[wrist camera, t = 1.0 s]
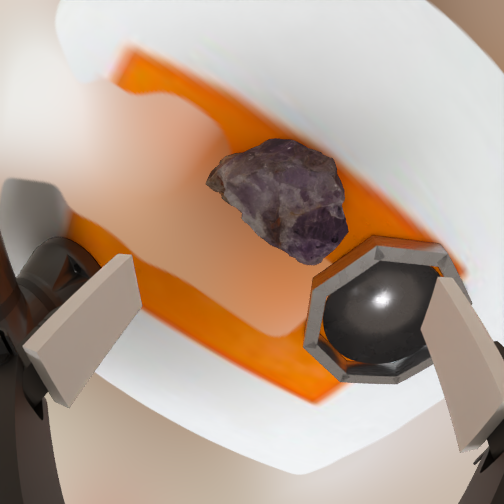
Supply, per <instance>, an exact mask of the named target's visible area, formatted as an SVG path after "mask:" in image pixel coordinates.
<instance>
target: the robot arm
mask: <svg viewBox="0 0 504 504" xmlns="http://www.w3.org/2000/svg"><path fill="white" fill-rule="evenodd" d="M141 307H142V302H141V297H140V293H139V288H138V283H137V278H136V273H135V268H134V263H133V258H132V255H128V254H117V255H116V256H115V257H114V258H112V259H111V260H110V261H109V262H108V263H107V264H106V265H105V266H104V267H102V268H100V267H99V265H98V264H97V262H96V261H95V260H94V259H93V257H92V256H91V255H90V254H89V253H88V252H87V251H86V250H85V249H83V248H82V247H81V246H80V245H78V244H77V243H75V242H73V241H71V240H69V239H66V238H61V237H55V238H51V239H49V240H47V241H46V242H44V243H43V244H41V245H40V246H38V247H37V248H36V249H35V251H34V252H33V254H32V255H31V257H30V258H29V260H28V261H27V263H26V264H25V266H24V267H23V269H22V270H21V272H20V274H19V275H18V276H17V277H15V274H14V272H13V269H12V266H11V263H10V260H9V257H8V254H7V251H6V248H5V245H4V242H3V238H2V235H1V231H0V504H65V503H64V499H63V495H62V491H61V487H60V483H59V478H58V474H57V469H56V463H55V458H54V452H53V446H52V440H51V433H50V425H49V416H48V406H47V401H46V399H45V397H44V396H45V394H46V393H47V392H49V394H50V395H51V397H52V398H53V400H54V401H55V402H56V403H59V404H61V405H63V406H65V407H67V408H70V407H71V405H72V404H73V402H74V401H75V399H76V398H77V396H78V395H79V393H80V392H81V391H82V389H83V387H84V386H85V385H86V383H87V382H88V380H89V379H90V377H91V376H92V375H93V373H94V372H95V370H96V369H97V367H98V366H99V365H100V363H101V362H102V360H103V359H104V358H105V356H106V355H107V353H108V352H109V351H110V349H111V348H112V346H113V345H114V344H115V342H116V341H117V340H118V338H119V337H120V335H121V334H122V333H123V331H124V330H125V329H126V327H127V326H128V325H129V323H130V322H131V321H132V319H133V318H134V317H135V315H136V314H137V313H138V311H139V310H140V309H141ZM421 332H422V334H423V337H424V339H425V342H426V344H427V347H428V350H429V352H430V355H431V358H432V361H433V364H434V366H435V369H436V372H437V375H438V378H439V381H440V384H441V387H442V390H443V393H444V396H445V400H446V403H447V406H448V409H449V413H450V416H451V420H452V423H453V427H454V431H455V434H456V438H457V442H458V446H459V451H460V453H462V452H467V451H471V450H475V449H478V448H479V447H480V446H481V445H482V444H483V443H484V442H485V441H486V440H487V441H488V444H489V447H488V448H487V449H486V450H485V451H484V452H483V453H482V454H481V455H480V456H479V457H478V458H477V459H476V460H475V462H474V463H473V464H474V465H475V464H477V463H478V462H479V461H480V460H481V461H480V463H479V465H478V467H477V469H476V471H475V473H474V475H473V477H472V480H471V481H470V483H469V486H468V487H467V489H466V491H465V493H464V495H463V496H462V498H461V500H460V502H459V503H458V504H504V347H503V346H502V345H501V344H500V343H499V342H498V341H493V340H492V338H491V337H490V335H489V333H488V332H487V330H486V328H485V327H484V325H483V323H482V322H481V320H480V318H479V317H478V315H477V314H476V312H475V310H474V309H473V307H472V306H471V304H470V303H469V301H468V300H467V298H466V297H465V295H464V294H463V292H462V291H461V289H460V288H459V286H458V285H457V283H456V282H455V280H454V279H453V278H450V277H438V278H437V281H436V284H435V288H434V291H433V294H432V297H431V300H430V303H429V306H428V309H427V312H426V315H425V318H424V321H423V324H422V326H421Z"/></svg>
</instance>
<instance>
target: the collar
mask: <svg viewBox="0 0 504 504" xmlns="http://www.w3.org/2000/svg"><path fill="white" fill-rule="evenodd" d="M432 266H437V267H438V268H439V270H440V271H441V273H442V275H443V277H450V278H453V279H454V280H455V282H456V283H457V285H458V286H459V288H460V289H461V291H462V292H463V294H464V295H465V297H466V298H467V300H468V301H469V303H470V304H471V305H472V301H471V299H470V297H469V295H468V293H467V291H466V288H465V286H464V284H463V282H462V280H461V278H460V276H459V274H458V272H457V270H456V268H455V266H454V264H453V262H452V261H451V259H450V257H449V255H448V253H447V252H446V251H445V250H444V248H443V247H442V246H441V245H440V244H438V243H430V242H423V241H415V240H407V239H399V238H391V237H382V236H374V235H372V236H371V237H370V238H368V239H367V240H365V241H364V242H363V243H361V244H360V245H359V246H357V247H356V248H354V249H353V250H352V251H350V252H349V253H347V254H346V255H345V256H343V257H342V258H340V259H339V260H338V261H336V262H335V263H333V264H332V265H330V266H329V267H328V268H326V269H325V270H323V271H322V272H320V273H319V274H318V275H316V276H315V277H313V280H312V287H311V294H310V301H309V307H308V313H307V320H306V326H305V332H304V342H303V348H304V349H306V350H307V351H308V352H309V353H310V354H311V355H312V356H313V357H314V358H315V359H316V360H317V361H318V362H319V363H320V364H321V365H323V366H324V367H325V368H326V369H327V370H328V371H329V372H330V373H331V374H332V375H333V376H334V377H335V378H337V379H338V380H339V381H340V382H348V383H369V384H398V383H400V382H402V381H404V380H406V379H408V378H409V377H411V376H413V375H415V374H417V373H419V372H420V371H422V370H424V369H426V368H427V367H429V366H431V365H432V364H433V361H432V358H431V355H430V352H429V350H428V347H427V344H426V342H425V339H424V337H423V334H422V332H421V326H422V324H423V321H424V318H425V315H426V312H427V309H428V306H429V303H430V300H431V297H432V294H433V291H434V288H435V284H436V281H437V278H438V277H440V275H439V274H438V272H437V271H436V270H435V269H434V268H433V267H432ZM328 295H329V296H328ZM327 296H328V298H327V300H326V297H327ZM325 301H326V303H325ZM323 312H324V313H323ZM322 317H323V324H324V330H325V334H326V336H327V339H328V340H329V342H330V343H329V342H328V341H327V340H326V339H325V338H324V337H323V336H322V335H321V334H320V333H319V332H320V327H321V322H322ZM338 352H339V353H340V354H342V355H343V356H345V357H347V358H349V359H351V360H354V361H346V360H345V359H344V358H343V357H342V356H341V355H340V354H339V353H338ZM397 360H398V361H397ZM394 361H397V362H395V363H389V362H394Z"/></svg>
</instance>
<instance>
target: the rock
mask: <svg viewBox="0 0 504 504" xmlns="http://www.w3.org/2000/svg"><path fill="white" fill-rule="evenodd" d="M206 185H207V186H209V187H210V188H211V189H212V190H213V191H215V192H219V193H220V194H221V196H222V199H223V200H224V201H226V202H227V203H228V204H230V205H231V206H234V207H236V208H237V209H238V210H239V211H240V212H241V213H242V220H243V221H244V222H245V223H247V224H248V225H249V226H250V227H251V228H252V229H253V230H254V231H255V233H256V234H257V235H258V236H260V237H261V238H262V239H264V240H265V241H266V242H268V243H269V244H270V245H272V246H274V247H277V248H279V249H281V250H283V251H285V252H286V253H288V254H289V256H291V257H294V258H296V260H297V261H298V262H300V263H303V264H306V265H317V264H319V263H321V262H322V260H323V258H324V257H326V256H327V255H328V254H330V253H331V252H332V251H333V250H334V249H335V248H336V247H337V246H338V245H339V244H340V242H341V241H342V240H343V238H344V237H345V236H346V234H347V233H348V232H349V231H348V226H347V223H346V218H345V215H344V212H343V208H342V203H343V201H344V200H345V197H344V188H343V186H342V183H341V180H340V179H339V177H338V175H337V168H336V165H335V162H334V160H333V158H329V157H327V156H325V155H323V154H322V153H321V152H319V151H316V150H313V149H309V148H307V147H306V146H304V145H302V144H300V143H298V142H296V141H294V140H286V139H269V140H267V141H265V142H263V143H262V144H261V145H260V146H256V147H254V148H251V149H249V150H248V151H246V152H244V153H235V154H232V155H228V156H225V157H224V158H223V159H222V160H221V161H220V164H219V165H218V166H217V167H215V168H214V170H212V172H211V173H210V175H209V177H208V179H207V182H206Z"/></svg>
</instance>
